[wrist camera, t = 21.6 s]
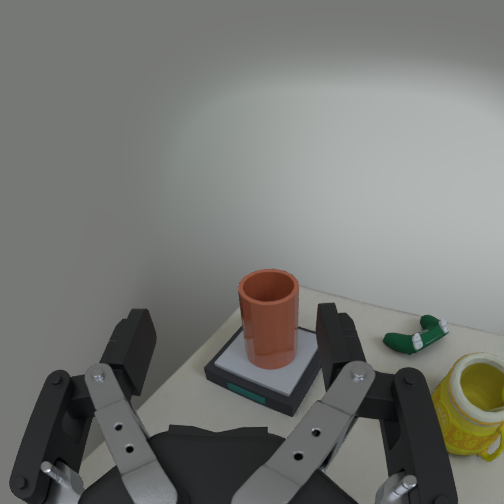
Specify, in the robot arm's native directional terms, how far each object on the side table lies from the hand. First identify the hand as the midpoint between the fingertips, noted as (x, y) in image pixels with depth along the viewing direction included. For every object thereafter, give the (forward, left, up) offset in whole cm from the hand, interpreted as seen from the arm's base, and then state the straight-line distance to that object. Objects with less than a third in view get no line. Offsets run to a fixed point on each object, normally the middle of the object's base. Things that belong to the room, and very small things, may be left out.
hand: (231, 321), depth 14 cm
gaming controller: (+27, +8, -23) cm, 36 cm away
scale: (+7, +14, -22) cm, 27 cm away
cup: (+7, +14, -19) cm, 25 cm away
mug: (+23, -7, -23) cm, 33 cm away
